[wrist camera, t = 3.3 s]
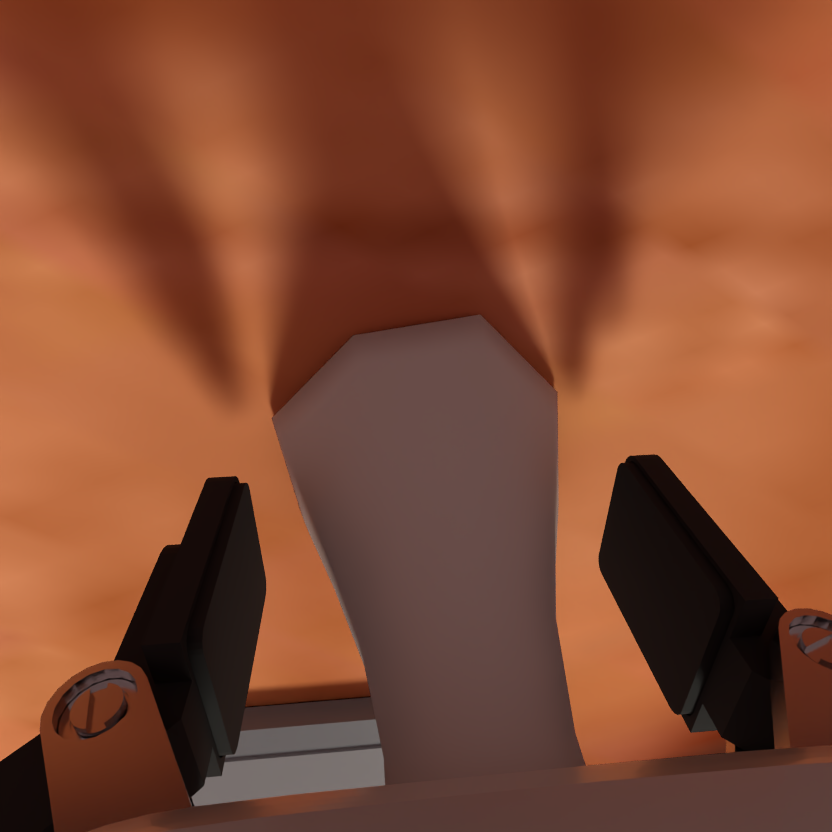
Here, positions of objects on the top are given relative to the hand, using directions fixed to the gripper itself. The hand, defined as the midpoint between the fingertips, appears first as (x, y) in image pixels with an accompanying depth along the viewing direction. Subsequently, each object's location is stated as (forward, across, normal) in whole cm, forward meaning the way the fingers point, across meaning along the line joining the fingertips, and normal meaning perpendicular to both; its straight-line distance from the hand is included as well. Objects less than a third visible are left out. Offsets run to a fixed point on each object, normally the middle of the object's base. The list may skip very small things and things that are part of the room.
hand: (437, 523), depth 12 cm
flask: (+3, 0, 0) cm, 3 cm away
